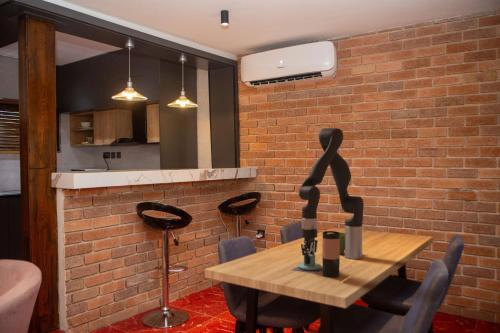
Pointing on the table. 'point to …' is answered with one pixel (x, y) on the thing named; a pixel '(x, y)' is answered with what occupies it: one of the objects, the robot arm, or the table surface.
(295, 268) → the mat
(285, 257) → the table surface
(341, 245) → the plant pot
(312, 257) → the lid
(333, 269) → the travel mug
